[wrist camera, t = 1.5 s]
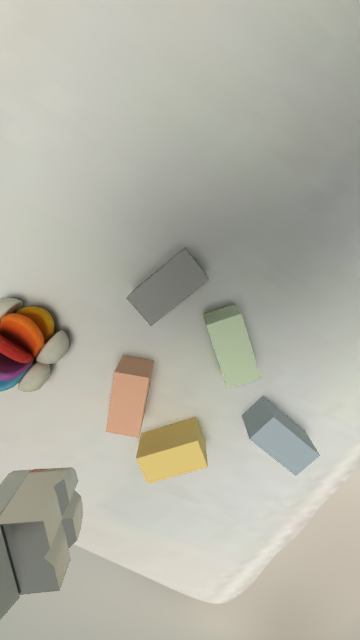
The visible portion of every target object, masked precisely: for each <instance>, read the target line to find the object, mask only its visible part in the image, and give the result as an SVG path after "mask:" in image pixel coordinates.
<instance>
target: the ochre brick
mask: <svg viewBox="0 0 360 640" xmlns="http://www.w3.org/2000/svg"><path fill="white" fill-rule="evenodd" d="M136 460H137V462H138V464H139V466H140V469H141V471H142V473H143V475H144V477H145V480H146V482H147V484H149V483H153V482H157V481H160V480H164V479H167V478H171V477H174V476H178V475H181V474H185V473H188V472H192V471H196V470H199V469H203V468H206V467H208V464H207V454H206V444H205V439H204V437H203V434H202V431H201V429H200V426H199V424H198V421H197V418H196V417H195V418H191V419H188V420H185V421H181V422H178V423H175V424H171V425H168V426H165V427H161V428H158V429H155V430H151V431H148V432H145V433H141V438H140V442H139V447H138V452H137V456H136Z"/></svg>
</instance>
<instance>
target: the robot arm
mask: <svg viewBox="0 0 360 640" xmlns="http://www.w3.org/2000/svg"><path fill="white" fill-rule="evenodd" d="M77 483H78V479H77V474H76V470H75V469H73V468H72V467H71V468H52V469H34V470H20V471H13V472H11V473H9V474H8V475H7V476H6V478H5V479H4V480H3V482H2V483H1V484H0V619H1V618H2V617H3V616H4V615H5V614H6V613H7V611H8V610H9V609H10V608H11V607H12V605H14V603H15V602H16V601H17V600H18V599H19V597H20V596H19V595H22V594H31V593H40V592H50V591H60V588H61V585H62V582H63V579H64V576H65V574H66V571H67V568H68V565H69V562H70V554H69V548H70V547H71V546H72V545H73V544H74V543H75V542H76V541H77V539H78V535H79V532H80V529H81V523H82V516H83V506H82V499H81V496H80V495H79V494H78V493H77V492H76V491H75V487H76V485H77Z"/></svg>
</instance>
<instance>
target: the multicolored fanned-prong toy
mask: <svg viewBox="0 0 360 640" xmlns="http://www.w3.org/2000/svg"><path fill="white" fill-rule="evenodd" d="M22 306H23V302H22V301H20V300H18V299H15V298H2V299H0V391H4V390H7V389H10V388H12V387H14V386H15V385H16V384H17V383H19V385H18V389H19V390H21V391H24V392H32V391H36V390H38V389H40V388H41V387H42V386H43V384H44V383H45V382H46V381H47V379H48V378H49V376H50V366H49V364H53V363H56V362H58V361H59V360H60V359H61V358H62V357H63V355H64V354H65V353H66V351H67V350H68V348H69V339H68V337H67V335H66V333H65V332H64V331H63V330H60V331H58V332H57V333H56V334H55V335H54V336H53V334H54V321H53V318H52V316H51V315H50V313H49V312H48V311H47V310H45V309H43V308H40V307H36V306H29V307H24V308H22ZM52 336H53V337H52ZM35 356H36V358H35Z"/></svg>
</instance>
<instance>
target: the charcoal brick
mask: <svg viewBox="0 0 360 640" xmlns="http://www.w3.org/2000/svg"><path fill="white" fill-rule="evenodd" d="M208 280H209V279H208V277H207V275H206V273H205V272H204V271H203V270H202V268H201V267H200V266H199V265H198V263H197V262H196V261H195V259H194V258H193V257H192V256H191V254H190V253H189V252H188V251H187V249H186V248H183V249H182V250H181V251H180V252H179V253H177V254H176V255H175V256H174V257H173V258H171V259H170V260H169V261H168V262H167V263H166V264H164V265H163V266H162V267H161V268H160V269H158V270H157V271H156V272H155V273H154V274H152V275H151V276H150V277H149V278H148V279H146V280H145V281H144V282H143V283H142V284H140V285H139V286H138V287H137V288H136V289H134V290H133V291H132V292H131V294H130V295H129V296H128V297H127V299H128V300H129V302H130V303H131V304H132V305H133V306H134V307H135V308H136V310H137V311H138V312H139V313H140V314H141V315H142V316H143V318H144V319H145V320H146V321H147V322H148V323H149V324H150V326H151V325H153V324H154V323H155V322H156V321H158V320H159V319H160V318H161V317H163V316H164V315H165V314H166V313H168V312H169V311H170V310H171V309H173V308H174V307H175V306H176V305H178V304H179V303H180V302H181V301H183V300H184V299H185V298H186V297H188V296H189V295H190V294H191V293H193V292H194V291H195V290H196V289H198V288H199V287H200V286H201V285H203V284H204V283H205V282H206V281H208Z"/></svg>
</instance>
